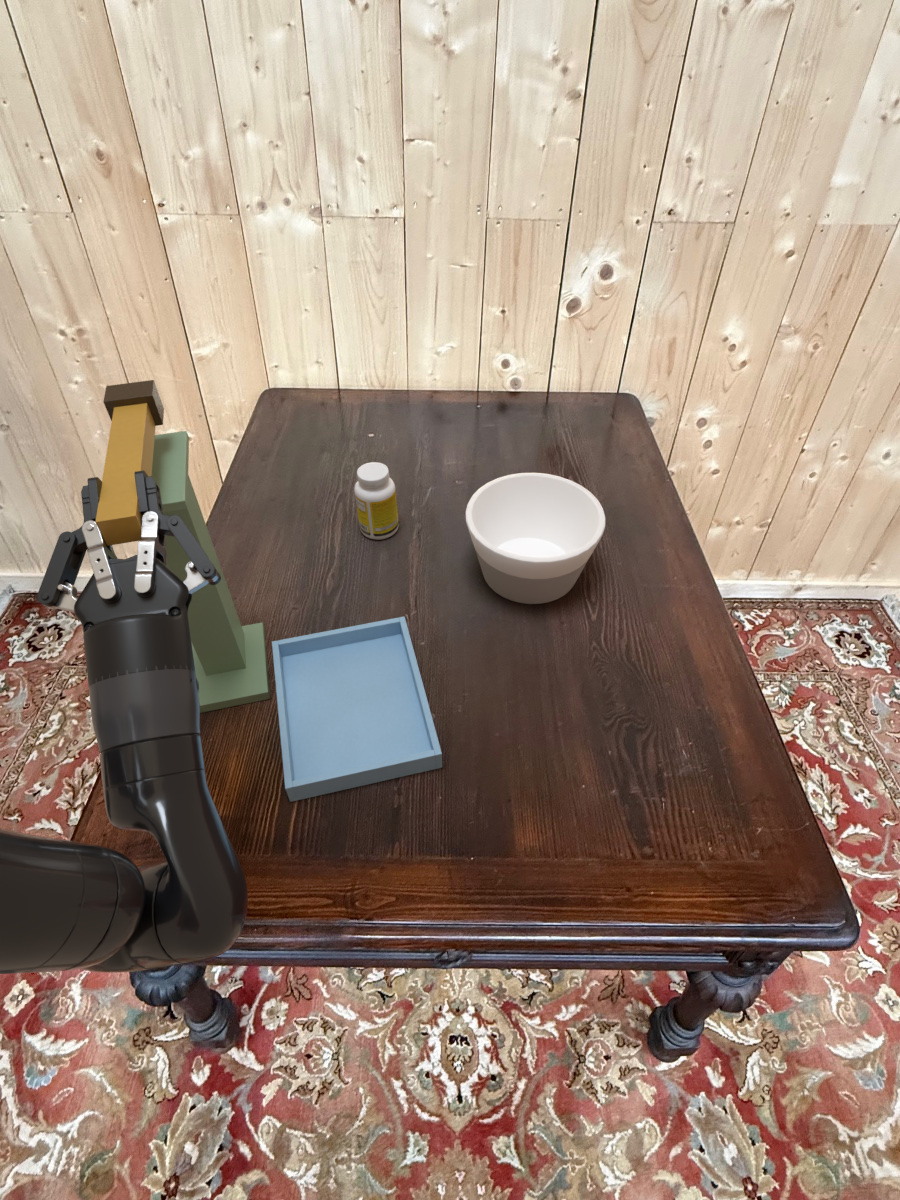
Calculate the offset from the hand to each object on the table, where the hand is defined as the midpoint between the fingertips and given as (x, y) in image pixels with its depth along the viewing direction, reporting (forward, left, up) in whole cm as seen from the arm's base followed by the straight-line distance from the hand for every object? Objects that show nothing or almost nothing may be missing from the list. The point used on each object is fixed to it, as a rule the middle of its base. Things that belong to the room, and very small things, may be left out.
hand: (119, 479), depth 56 cm
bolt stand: (0, +10, -38) cm, 39 cm away
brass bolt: (0, +5, -3) cm, 6 cm away
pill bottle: (+24, +33, -38) cm, 56 cm away
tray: (+15, 0, -38) cm, 41 cm away
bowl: (+44, +18, -38) cm, 61 cm away
